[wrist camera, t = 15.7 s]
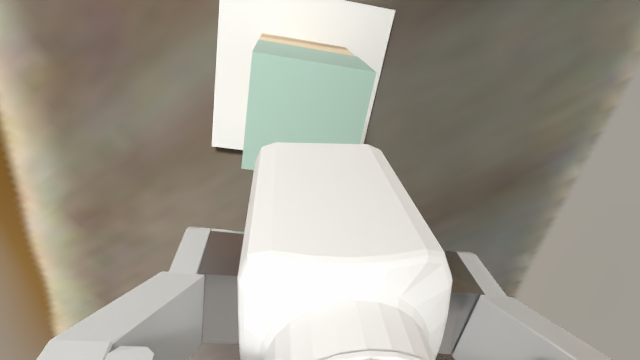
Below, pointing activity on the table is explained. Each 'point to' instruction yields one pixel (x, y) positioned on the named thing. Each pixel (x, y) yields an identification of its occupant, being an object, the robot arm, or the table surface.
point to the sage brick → (304, 97)
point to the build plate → (294, 22)
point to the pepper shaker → (337, 260)
